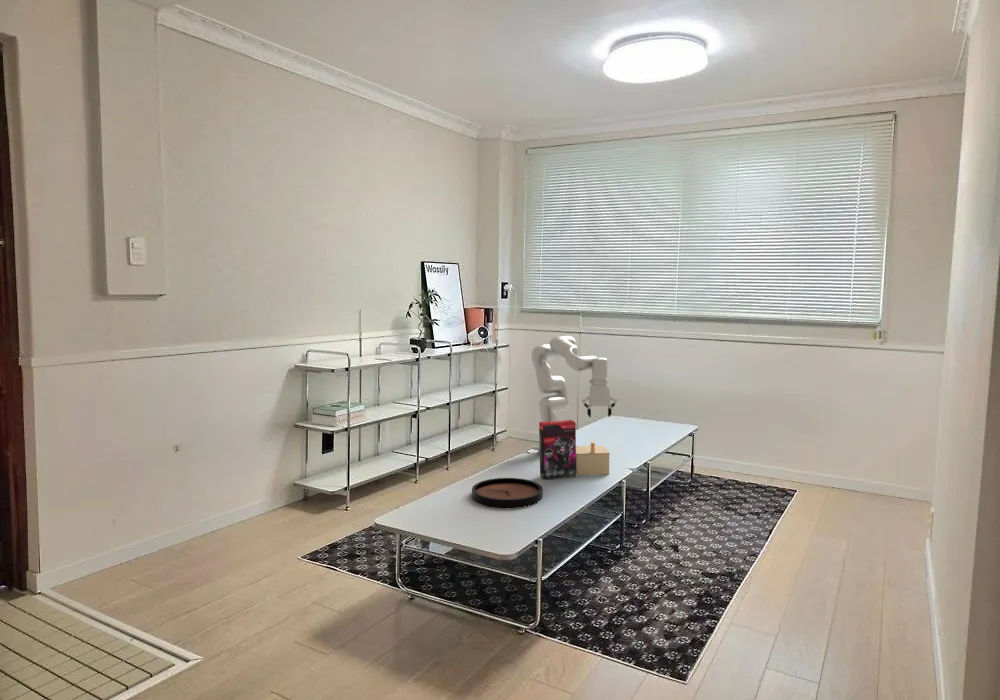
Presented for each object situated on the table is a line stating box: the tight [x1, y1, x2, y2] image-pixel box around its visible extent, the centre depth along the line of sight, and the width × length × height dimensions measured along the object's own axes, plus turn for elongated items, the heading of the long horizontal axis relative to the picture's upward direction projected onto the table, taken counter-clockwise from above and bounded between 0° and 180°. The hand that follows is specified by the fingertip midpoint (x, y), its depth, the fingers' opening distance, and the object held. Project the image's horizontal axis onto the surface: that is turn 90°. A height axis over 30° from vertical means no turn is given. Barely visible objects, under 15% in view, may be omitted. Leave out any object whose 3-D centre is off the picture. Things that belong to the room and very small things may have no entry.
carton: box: [576, 454, 610, 476], centre depth 338 cm, size 16×14×10 cm
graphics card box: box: [538, 419, 577, 481], centre depth 327 cm, size 17×7×27 cm, turn 105°
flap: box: [576, 441, 611, 455], centre depth 337 cm, size 16×14×6 cm
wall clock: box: [471, 477, 544, 509], centre depth 300 cm, size 31×4×31 cm
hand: (599, 416), depth 337 cm, fingers open, 9 cm apart
